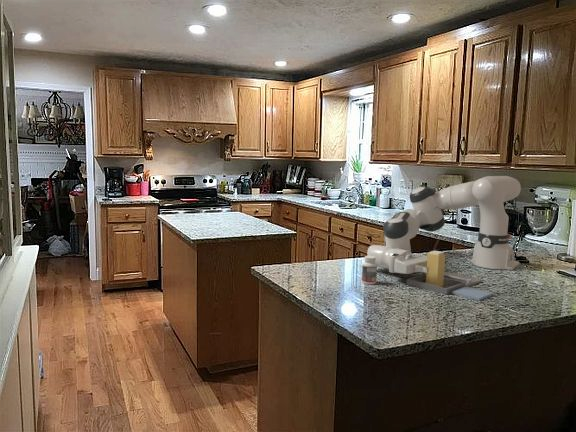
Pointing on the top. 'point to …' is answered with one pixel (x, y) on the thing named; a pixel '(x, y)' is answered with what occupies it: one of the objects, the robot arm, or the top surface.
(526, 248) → the top surface
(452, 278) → the case
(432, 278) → the block
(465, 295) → the mat
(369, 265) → the pill bottle
